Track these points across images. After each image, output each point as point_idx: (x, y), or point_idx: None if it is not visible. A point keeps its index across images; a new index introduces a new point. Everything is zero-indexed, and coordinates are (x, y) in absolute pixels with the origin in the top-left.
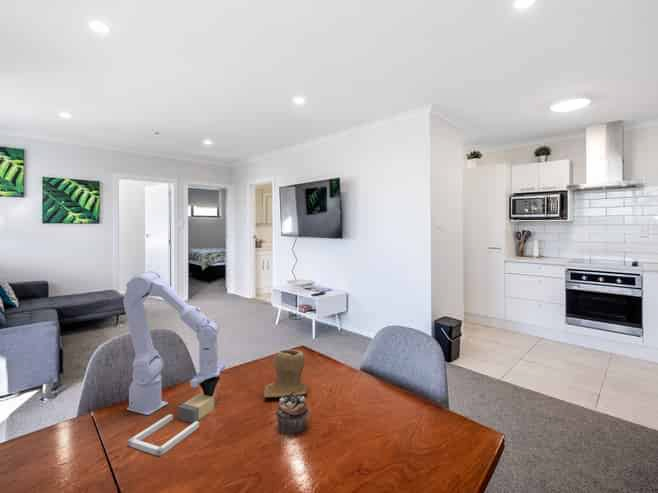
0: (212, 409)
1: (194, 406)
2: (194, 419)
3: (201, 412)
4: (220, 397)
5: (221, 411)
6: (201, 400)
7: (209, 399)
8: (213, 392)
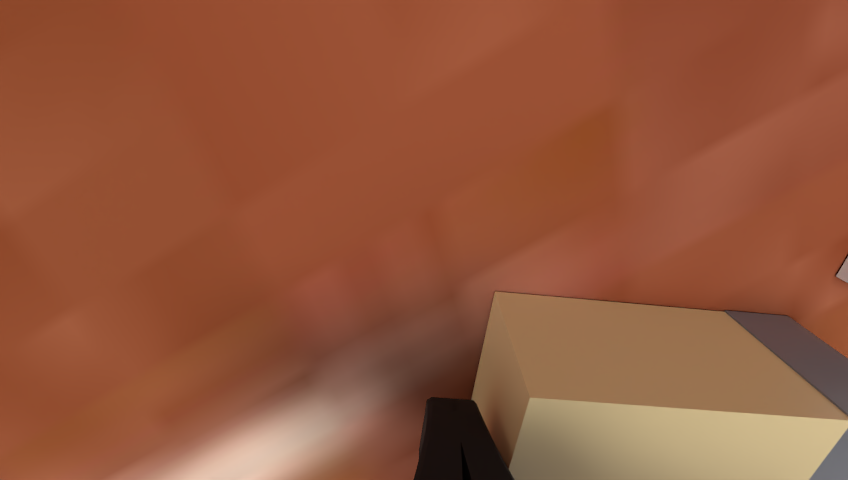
0: (520, 297)
1: (814, 469)
2: (815, 340)
3: (726, 346)
4: (252, 354)
5: (526, 186)
6: (653, 477)
7: (615, 411)
8: (439, 465)
